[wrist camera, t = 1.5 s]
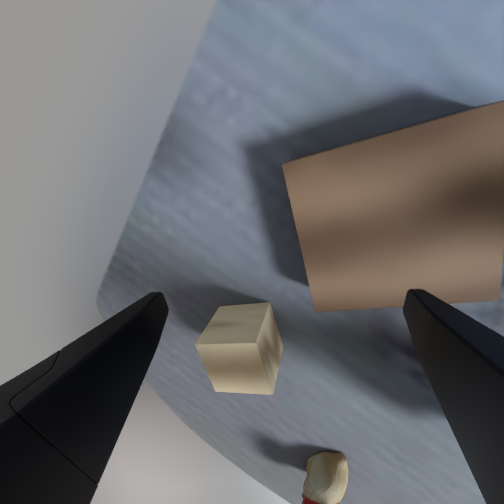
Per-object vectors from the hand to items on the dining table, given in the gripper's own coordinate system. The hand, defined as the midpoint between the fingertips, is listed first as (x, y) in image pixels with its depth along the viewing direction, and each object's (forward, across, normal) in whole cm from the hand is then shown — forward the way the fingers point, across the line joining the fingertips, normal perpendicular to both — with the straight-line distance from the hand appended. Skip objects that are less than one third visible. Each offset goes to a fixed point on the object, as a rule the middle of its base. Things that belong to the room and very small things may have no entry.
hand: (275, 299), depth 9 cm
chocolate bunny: (+8, -4, +37) cm, 38 cm away
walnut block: (+13, -8, +2) cm, 15 cm away
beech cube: (+12, +4, +15) cm, 20 cm away
